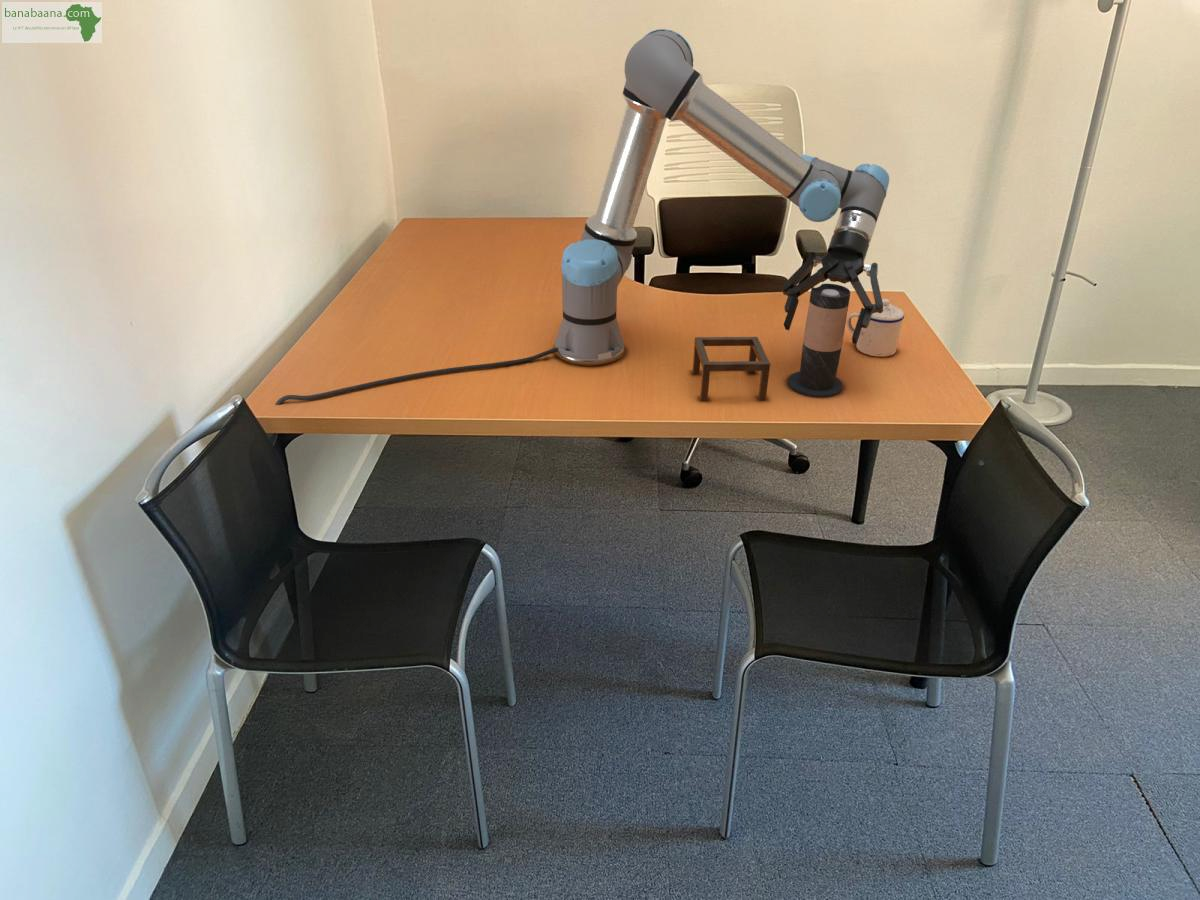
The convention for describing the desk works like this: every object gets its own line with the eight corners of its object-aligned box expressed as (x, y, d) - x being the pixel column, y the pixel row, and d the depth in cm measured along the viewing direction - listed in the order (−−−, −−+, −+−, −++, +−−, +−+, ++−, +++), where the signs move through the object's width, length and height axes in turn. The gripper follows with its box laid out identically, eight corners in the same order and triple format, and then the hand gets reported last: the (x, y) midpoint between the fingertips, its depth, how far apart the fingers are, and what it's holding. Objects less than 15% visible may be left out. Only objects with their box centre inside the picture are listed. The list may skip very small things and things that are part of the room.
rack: (700, 400, 172) (703, 364, 168) (692, 371, 183) (694, 337, 179) (765, 400, 173) (770, 363, 168) (753, 371, 184) (757, 336, 180)
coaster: (794, 397, 174) (794, 395, 173) (782, 373, 183) (782, 370, 183) (848, 397, 174) (849, 394, 174) (833, 372, 184) (834, 370, 183)
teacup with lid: (902, 347, 195) (912, 298, 189) (889, 361, 189) (899, 311, 183) (850, 334, 201) (859, 286, 195) (836, 348, 194) (844, 299, 188)
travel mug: (835, 392, 174) (851, 299, 164) (797, 388, 176) (810, 295, 165) (835, 376, 181) (850, 284, 170) (797, 372, 182) (810, 281, 172)
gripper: (788, 219, 176) (756, 313, 172) (915, 239, 166) (883, 339, 162) (793, 238, 183) (762, 329, 179) (914, 258, 173) (884, 354, 169)
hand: (819, 334), depth 171 cm, fingers open, 13 cm apart
